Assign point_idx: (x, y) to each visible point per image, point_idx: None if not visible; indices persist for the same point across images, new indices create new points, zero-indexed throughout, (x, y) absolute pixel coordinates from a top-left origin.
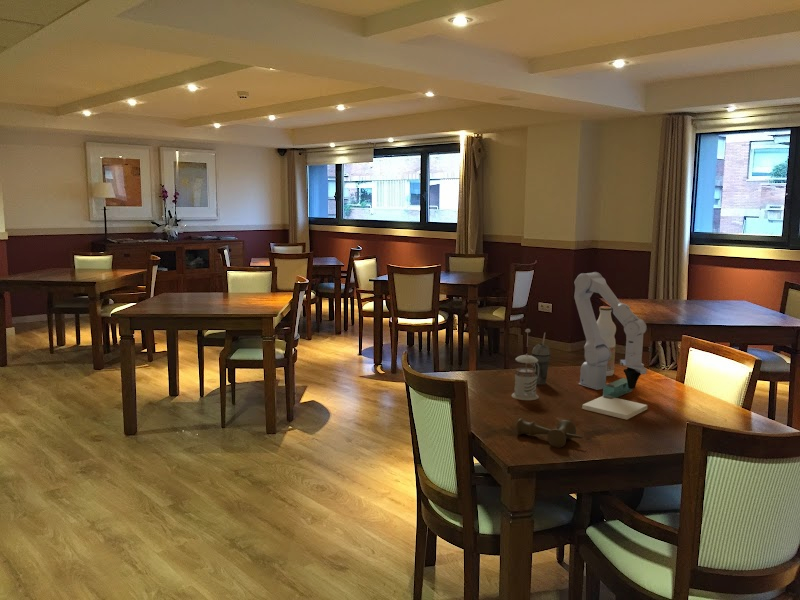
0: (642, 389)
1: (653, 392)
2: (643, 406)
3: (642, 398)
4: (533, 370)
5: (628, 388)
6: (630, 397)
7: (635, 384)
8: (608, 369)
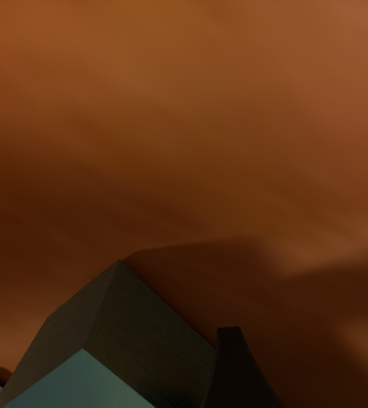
0: (4, 95)
1: (130, 8)
2: None
3: (344, 250)
4: None
5: (181, 351)
6: (293, 334)
7: (254, 364)
8: None
